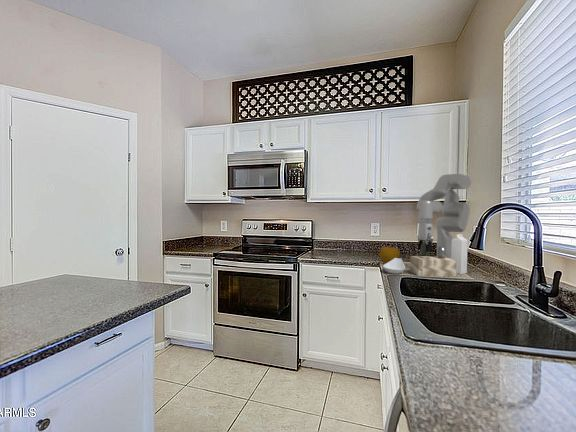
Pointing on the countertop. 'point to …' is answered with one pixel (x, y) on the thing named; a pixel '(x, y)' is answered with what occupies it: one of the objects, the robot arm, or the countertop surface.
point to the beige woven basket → (433, 265)
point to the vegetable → (424, 249)
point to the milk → (460, 253)
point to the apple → (389, 254)
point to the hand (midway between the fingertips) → (424, 250)
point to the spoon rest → (394, 266)
